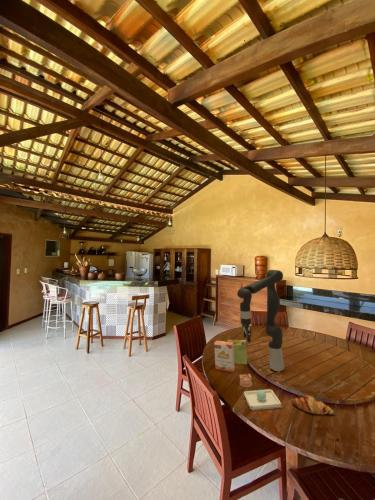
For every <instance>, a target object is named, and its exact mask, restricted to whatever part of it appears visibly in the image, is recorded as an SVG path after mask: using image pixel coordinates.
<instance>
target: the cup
mask: <svg viewBox="0 0 375 500" xmlns="http://www.w3.org/2000/svg"><path fill="white" fill-rule="evenodd" d="M239 378H240V380H239V385H240V386H241V387H243V388H251V387H252V386H253V382H252V380H253V377H252V375H251V374H250V373H248V374H239Z"/></svg>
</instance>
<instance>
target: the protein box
mask: <svg viewBox="0 0 375 500" xmlns="http://www.w3.org/2000/svg"><path fill="white" fill-rule="evenodd" d="M227 342H233V347H234V365H236V364H238V365H248V356H247V355H248V352H247V339H227Z"/></svg>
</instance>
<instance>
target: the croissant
mask: <svg viewBox="0 0 375 500" xmlns="http://www.w3.org/2000/svg"><path fill="white" fill-rule="evenodd" d="M290 401H291V402H290V403H292V404H293V405H294V406H296V407H297V408H298V409H300V410H302V411H304V412H307V413H310V414H312V415H332V414H334V412H335V411H334V410H333V409H332V408H331V407H330V406H329V405H326V404H325V403H324V402H323V401H322V400H316V399H315V397H313V396H311V395H303V397H302V396H299V398H298V397H294V398H291V399H290Z"/></svg>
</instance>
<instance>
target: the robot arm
mask: <svg viewBox="0 0 375 500" xmlns="http://www.w3.org/2000/svg"><path fill="white" fill-rule="evenodd" d="M265 274H266V275H265V278H262V279H259V280H256V281H254V282H253V283H251V284H249V285H248V284H247V285H246V286H243V287H241V288H239V289H238V290H237V293H236V294H237V297H238V298H240V299H243V300H242V301H241V302H240V303H239V311H240V313H239V315H240V316H239V317H240V324H241V331H242V332H243V333H242V334H243V338H246V343H251V342H252V339H251V337H252V327H250V326H251V325H252V324H253V323H252V313H251V303H252V297H253V295H255V294H256V293H258V292H260V291H261V290H264V289H265V288H266V292H267V293H266V295H267V297H266V321H265V323H266V324H265V333H266V335H267V336H268V337H271V338H272V339H271V341H269V342H268V357H269V358H268V359H269V369H270V368H271V369H273V370H277V371H281V370H284V371H285V363H284V357H283V349H282V345H283V330H282V328H281V326H278V325H276V324H275V320H276V316H277V314H278V312H279V311H280V308H281V307H280V306H281V304H280V303H281V300H280V296H279V294H278V292H277V289H276V284H277V283H280V282H281V281H282V280H283V279H284V273H283V272H282V271H281V270H279V269H268V270H267V272H266V273H265Z"/></svg>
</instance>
